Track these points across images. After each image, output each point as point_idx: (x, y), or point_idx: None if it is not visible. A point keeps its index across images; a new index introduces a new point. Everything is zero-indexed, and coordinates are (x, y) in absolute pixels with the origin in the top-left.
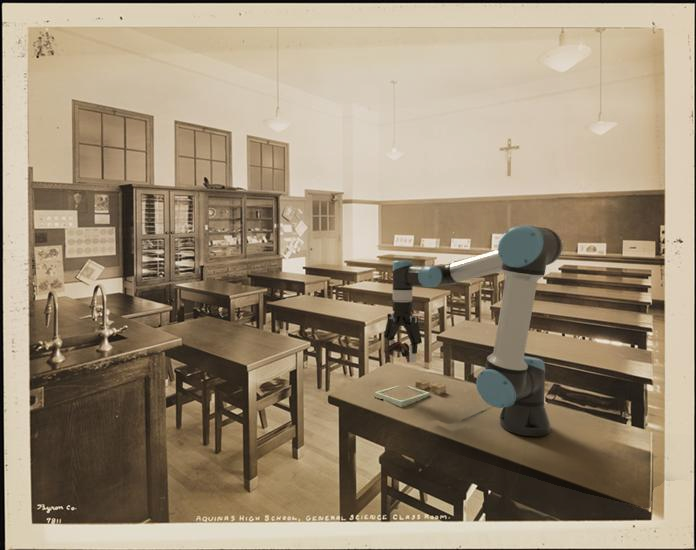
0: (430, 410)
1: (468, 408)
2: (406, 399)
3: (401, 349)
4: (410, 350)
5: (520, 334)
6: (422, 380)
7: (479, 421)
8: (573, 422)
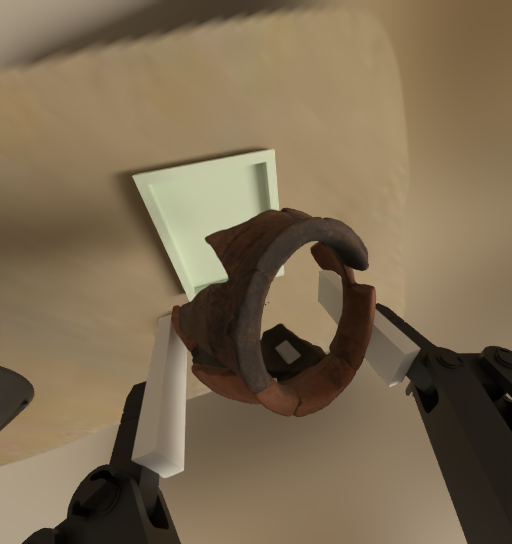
0: (84, 245)
1: (82, 333)
2: (154, 211)
3: (298, 352)
4: (150, 394)
5: None
6: None
7: None
8: None
